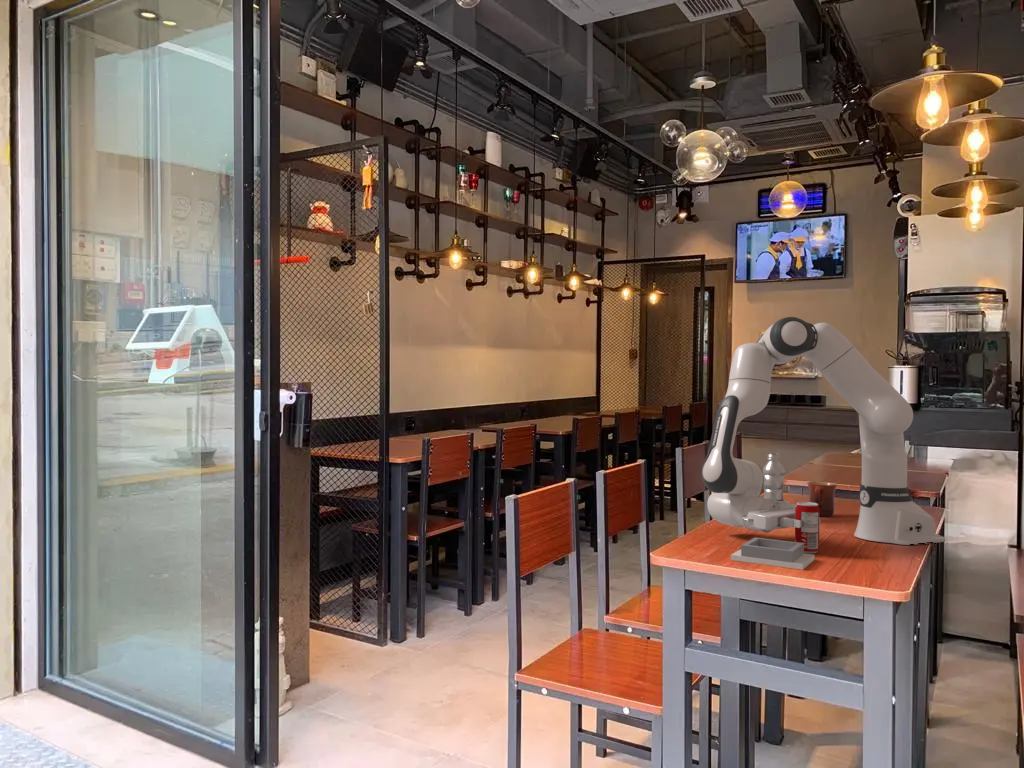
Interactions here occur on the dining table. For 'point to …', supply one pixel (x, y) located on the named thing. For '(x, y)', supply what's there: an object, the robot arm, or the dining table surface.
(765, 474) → the plastic bottle
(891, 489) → the robot arm
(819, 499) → the mug
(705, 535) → the dining table surface
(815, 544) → the soda can
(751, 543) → the caddy
